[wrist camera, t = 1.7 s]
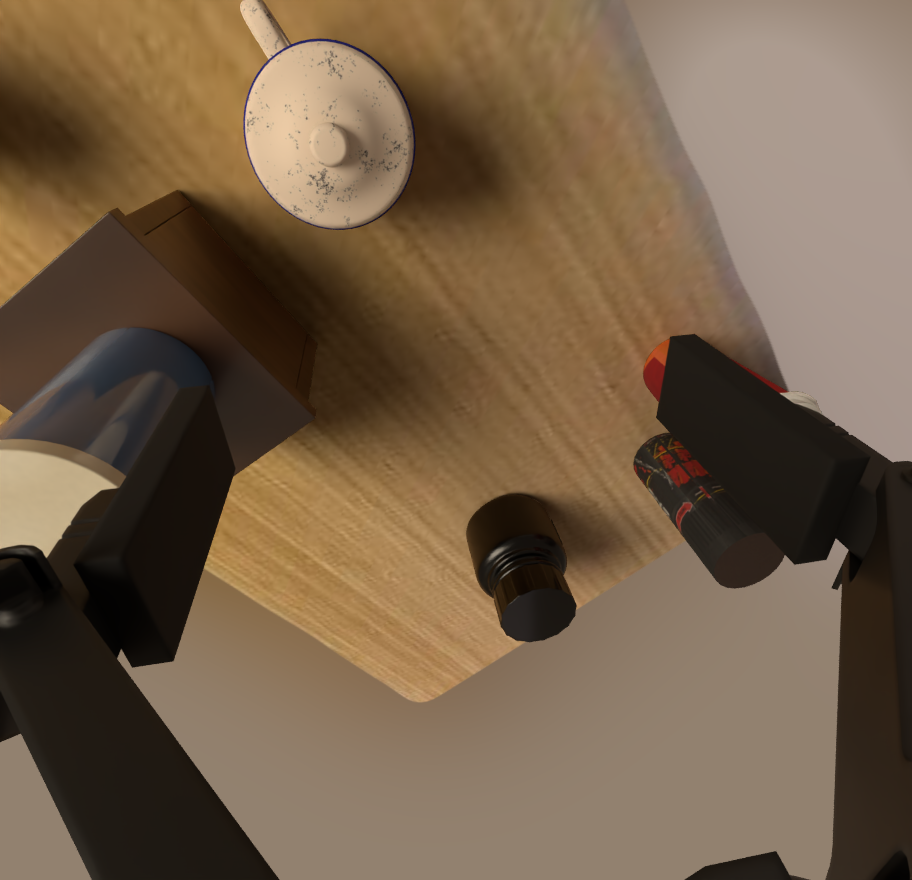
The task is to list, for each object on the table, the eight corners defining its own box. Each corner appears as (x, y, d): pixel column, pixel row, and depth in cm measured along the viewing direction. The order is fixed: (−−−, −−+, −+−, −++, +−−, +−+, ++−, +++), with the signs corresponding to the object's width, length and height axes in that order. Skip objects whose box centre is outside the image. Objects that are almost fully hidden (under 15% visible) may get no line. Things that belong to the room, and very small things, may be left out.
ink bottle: (497, 571, 61) (524, 665, 51) (445, 531, 57) (464, 624, 47) (566, 521, 59) (610, 608, 49) (518, 474, 54) (555, 559, 44)
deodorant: (700, 450, 56) (799, 550, 44) (658, 490, 58) (741, 597, 46) (664, 422, 54) (759, 521, 41) (621, 465, 56) (699, 572, 43)
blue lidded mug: (2, 405, 31) (-192, 572, 20) (139, 291, 29) (8, 408, 18) (122, 491, 35) (16, 670, 24) (251, 397, 33) (199, 544, 22)
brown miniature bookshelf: (47, 292, 39) (-62, 360, 29) (177, 180, 37) (108, 211, 27) (208, 430, 47) (167, 523, 37) (325, 344, 45) (315, 418, 34)
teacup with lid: (429, 160, 39) (453, 180, 29) (323, 231, 40) (312, 273, 30) (323, -36, 32) (309, -94, 23) (202, 57, 34) (139, 39, 24)
